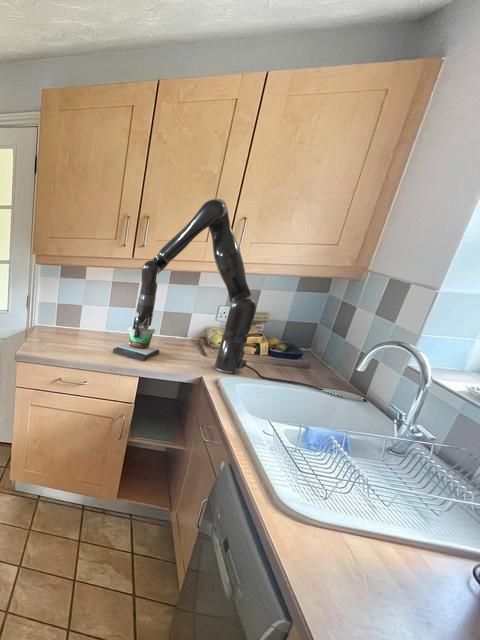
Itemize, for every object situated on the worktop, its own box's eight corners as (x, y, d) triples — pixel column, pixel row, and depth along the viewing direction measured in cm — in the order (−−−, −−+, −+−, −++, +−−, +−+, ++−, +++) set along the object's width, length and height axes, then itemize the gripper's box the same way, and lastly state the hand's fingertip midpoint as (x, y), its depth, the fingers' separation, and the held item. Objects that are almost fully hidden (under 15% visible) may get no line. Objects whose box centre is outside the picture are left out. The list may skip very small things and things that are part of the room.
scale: (158, 353, 206) (159, 348, 205) (142, 361, 196) (144, 355, 195) (129, 346, 217) (129, 341, 216) (112, 352, 207) (113, 347, 206)
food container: (124, 347, 206) (127, 328, 202) (126, 343, 211) (129, 325, 207) (150, 351, 201) (154, 331, 197) (151, 347, 206) (155, 328, 202)
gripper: (146, 306, 190) (140, 341, 197) (160, 302, 199) (154, 335, 206) (131, 303, 196) (125, 337, 202) (146, 299, 204) (140, 331, 211)
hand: (140, 336), depth 204 cm, fingers closed on food container, 7 cm apart
